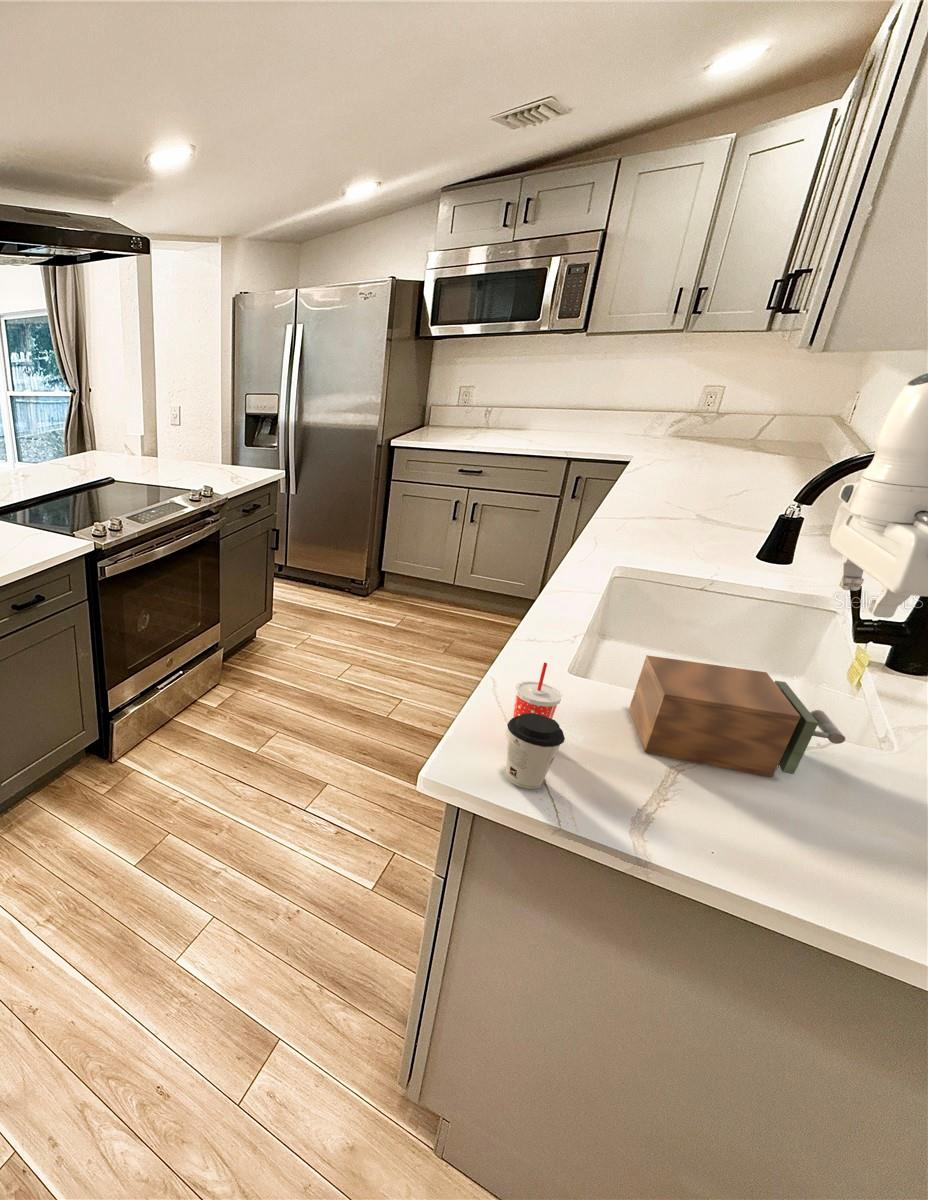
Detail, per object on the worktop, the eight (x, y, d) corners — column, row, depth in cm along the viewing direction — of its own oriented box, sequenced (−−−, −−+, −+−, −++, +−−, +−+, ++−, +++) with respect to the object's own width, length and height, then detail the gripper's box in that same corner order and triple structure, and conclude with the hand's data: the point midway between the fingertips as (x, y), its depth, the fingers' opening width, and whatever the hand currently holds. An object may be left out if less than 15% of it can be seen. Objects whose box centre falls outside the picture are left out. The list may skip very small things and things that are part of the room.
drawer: (803, 736, 94) (826, 687, 90) (837, 782, 85) (864, 730, 81) (655, 710, 102) (671, 665, 98) (672, 750, 93) (690, 702, 89)
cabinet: (742, 729, 98) (766, 672, 93) (772, 777, 88) (800, 716, 83) (628, 709, 104) (646, 655, 100) (644, 752, 94) (664, 694, 90)
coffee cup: (503, 791, 88) (517, 734, 84) (491, 760, 95) (503, 706, 90) (558, 797, 87) (575, 740, 83) (542, 766, 93) (557, 711, 89)
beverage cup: (526, 723, 102) (544, 650, 97) (558, 745, 97) (580, 669, 91) (496, 731, 101) (512, 657, 95) (527, 753, 95) (547, 677, 90)
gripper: (994, 527, 68) (940, 637, 73) (901, 484, 84) (863, 577, 89) (910, 523, 71) (864, 629, 76) (836, 483, 87) (802, 573, 92)
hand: (863, 601), depth 83 cm, fingers open, 8 cm apart
